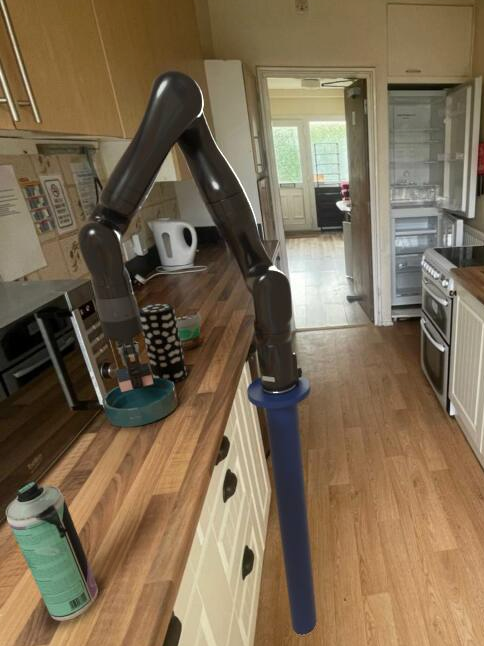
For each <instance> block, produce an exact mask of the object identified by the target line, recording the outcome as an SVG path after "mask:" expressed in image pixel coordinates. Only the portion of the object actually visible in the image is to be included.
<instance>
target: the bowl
mask: <svg viewBox="0 0 484 646" xmlns="http://www.w3.org/2000/svg"><path fill="white" fill-rule="evenodd" d="M152 380H153V384H151V385H147V386H143V387H142V388H139V389H132V390H128V391H124V392H121V389H120V386H119V385H118V386H116V387H114V388H112V389H111V390H109V391H108V392H107V393H106V394H104V396H103V398H102V400H101V402H102V406H103V410H104V413H105V416H106V420H107V422H108V423H110V424H111V425H113V426H116V427H120V428H121V427H122V428H132V427H138V426H144V425H147V424H150V423H154V422H156V421H158V420H161V419H163V418H165V417H167V416H168V415H169V414H171V413H172V412H173V411H174V410H175V409H176V408H177V406H178V401H179V400H178V396H177V390H176V387H175V384H174V382H172V381H170V380H168V379H163V378H153V377H152Z"/></svg>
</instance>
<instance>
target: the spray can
mask: <svg viewBox="0 0 484 646" xmlns="http://www.w3.org/2000/svg"><path fill="white" fill-rule="evenodd" d="M5 515H6V521H7V522H8V525H9V526H10V529H11V532H12V534H13V536H14V538H15V540H16V542H17V545H18V547H19V549H20V551H21V554H22V556H23V558H24V560H25V562H26V564H27V567H28V569H29V572H30V573H31V576H32V578H33V580H34V582H35V584H36V587H37V589H38V591H39V593H40V594H41V597H42V600H43V601H44V605H45V607H46V609H47V611H48V613H49V616H51V618H52V619H53V620H56V621H60V622H62V621H67V620H68V621H69V620H71V619H74V618H76V617H78V616H80V615H81V614H83V613H84V612H85V611H87V610H88V609H89V608H90V607H91V606H92V605H93V604H94V603H95V600H96V599H97V597H98V594H99V589H98V585H97V582H96V579H95V577H94V574H93V571H92V569H91V566H90V563H89V561H88V558H87V555H86V553H85V549H84V547H83V545H82V541H81V539H80V537H79V534H78V531H77V528H76V526H75V524H74V523H75V522H74V521H73V518H72V515H71V513H70V510H69V508H68V504H67V502H66V499H65V497H64V494H63V493H62V492H61V490H60V488H58V487H56V486H52V485H49V486H48V485H47V486H41V485H40V486H39V485H38V484H37V482H36V481H34V480H31V481H27V482H24V483H23V484H22V485H21V486H20V487H19V488H18V494H17V496H16V498H14V499H13V500H12V501H11V502H10V503H9V504H8V506H7V507H6V510H5Z"/></svg>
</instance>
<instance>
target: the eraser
mask: <svg viewBox="0 0 484 646" xmlns="http://www.w3.org/2000/svg"><path fill="white" fill-rule="evenodd" d="M140 365H141V369H142V373H141V377H142V381H143V385H144V386H147V385H151V384H153V380H152V378H153V374H152V370H151V367H150V366H149V364H148V362H144V363H140ZM136 368H137V367H134V368H131V369H136ZM114 372H115V374H116V378H117V381H118V386H120V389H121V392H124V391H128V390H132V389H133V388H132V384H131V380H130V376H129V375H128V373H127V372H128V370H127V368H126V367H123V368H119V369H115V371H114Z"/></svg>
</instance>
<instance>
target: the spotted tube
mask: <svg viewBox="0 0 484 646" xmlns="http://www.w3.org/2000/svg"><path fill="white" fill-rule="evenodd" d="M138 309H139V313H140V318H141V322H142V326H143V332H142V335H143V336H142V337H143V339H144V343H145V348H146V352H147V357H148V362H149V365H150V366H149V367H150V371H151V375H152V378H163V379H168V380H170V381H172V382H173V383H175V382H178V381H181V380H183V379H185V377H187V375H188V372H187V368H186V367H187V366H186V361H185V356H184V350H182V346H181V341H180V336H179V331H178V326H177V321H176V318H177V316H176V311H175V306H174V304H172V303H170V302H155V303H149V304H145V305H143V306H140V307H138Z"/></svg>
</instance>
